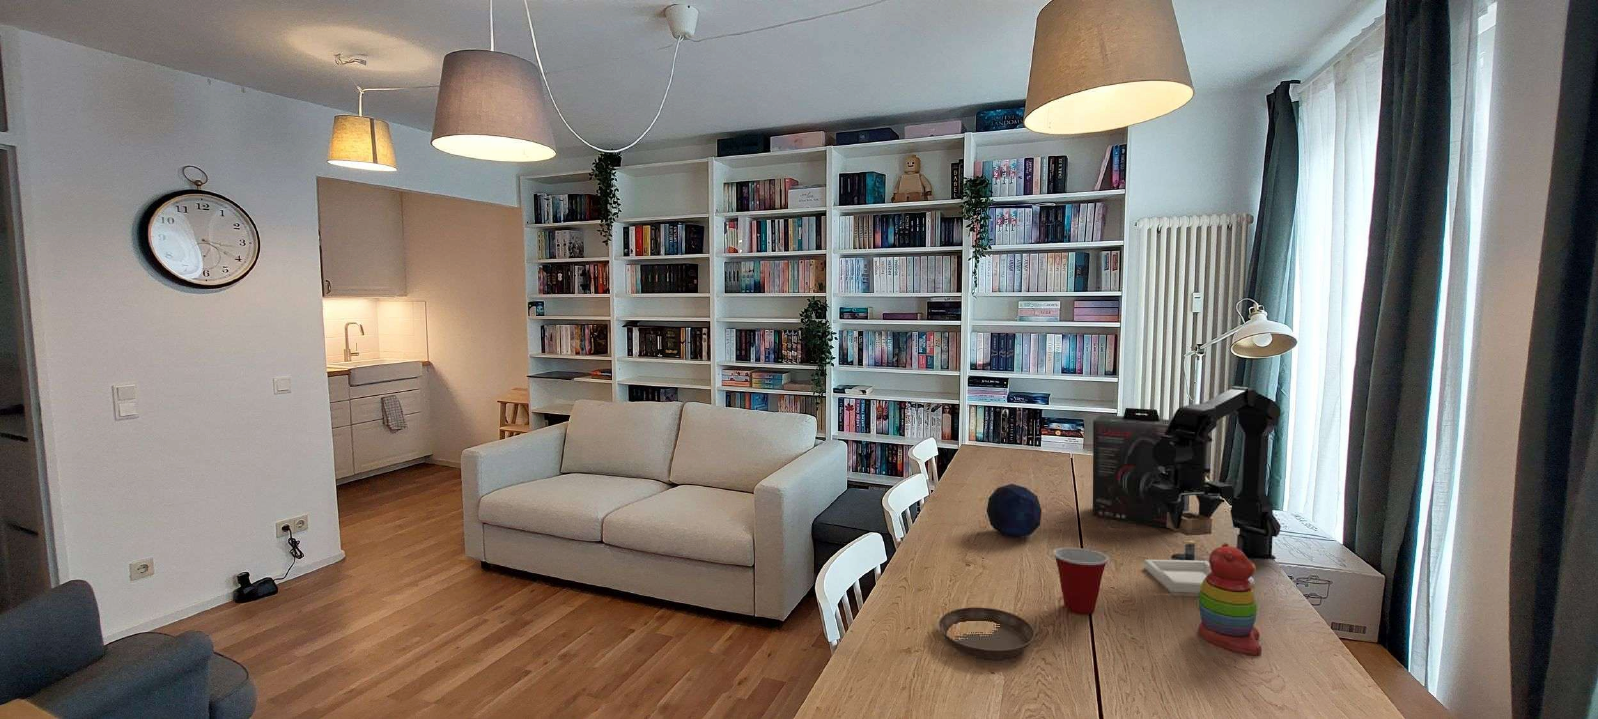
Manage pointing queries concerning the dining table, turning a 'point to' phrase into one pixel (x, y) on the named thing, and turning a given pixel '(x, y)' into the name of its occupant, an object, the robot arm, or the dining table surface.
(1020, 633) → the plant saucer
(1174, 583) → the tray
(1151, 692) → the dining table surface
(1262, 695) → the dining table surface
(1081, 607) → the plastic cup
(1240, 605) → the stacking bear
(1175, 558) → the grey rounded piece
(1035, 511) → the decorative orb
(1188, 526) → the brown hollow block
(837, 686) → the dining table surface
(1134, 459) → the headset box
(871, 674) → the dining table surface
